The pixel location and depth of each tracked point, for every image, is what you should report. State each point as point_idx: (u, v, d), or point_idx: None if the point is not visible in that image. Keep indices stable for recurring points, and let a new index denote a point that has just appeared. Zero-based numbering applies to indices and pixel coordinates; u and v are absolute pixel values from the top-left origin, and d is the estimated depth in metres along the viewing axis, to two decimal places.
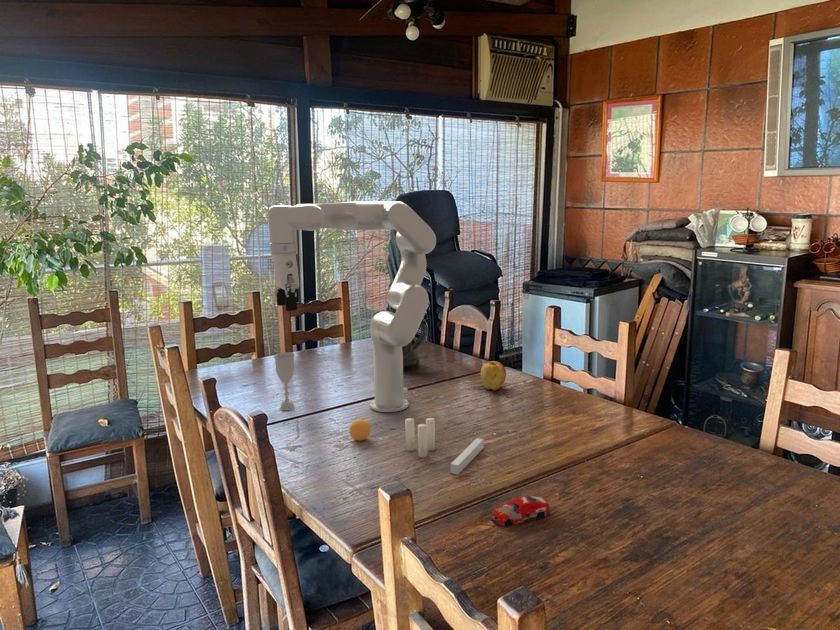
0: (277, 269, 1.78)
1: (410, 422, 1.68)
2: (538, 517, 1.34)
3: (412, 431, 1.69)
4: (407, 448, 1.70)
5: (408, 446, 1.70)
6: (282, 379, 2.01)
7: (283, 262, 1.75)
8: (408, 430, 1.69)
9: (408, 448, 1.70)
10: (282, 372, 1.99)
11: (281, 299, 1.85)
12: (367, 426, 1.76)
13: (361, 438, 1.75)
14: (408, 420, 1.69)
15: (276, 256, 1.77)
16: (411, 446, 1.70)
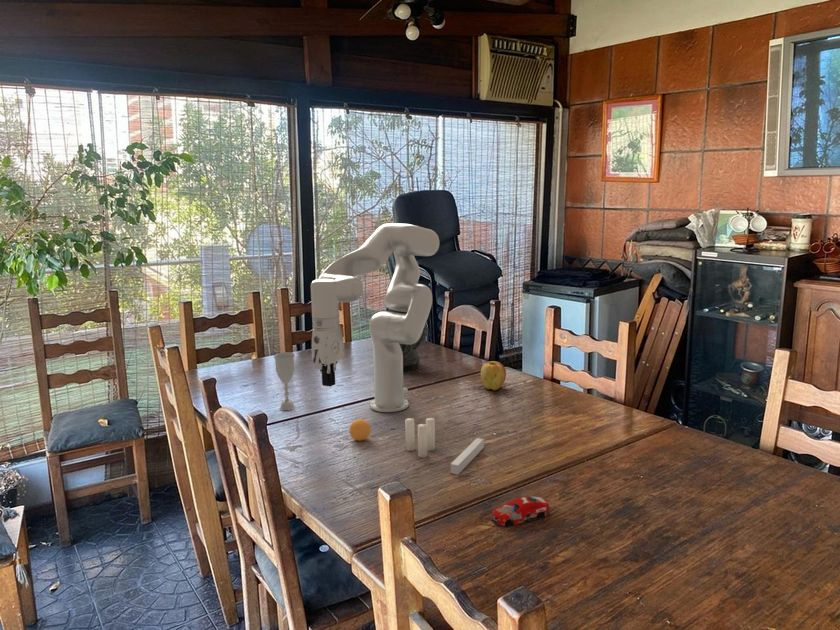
0: None
1: (411, 422, 1.68)
2: (538, 517, 1.34)
3: (412, 431, 1.69)
4: (407, 448, 1.70)
5: (408, 446, 1.70)
6: (282, 379, 2.01)
7: (312, 337, 1.73)
8: (408, 430, 1.69)
9: (408, 448, 1.70)
10: (282, 372, 1.99)
11: None
12: (367, 426, 1.76)
13: (361, 438, 1.75)
14: (408, 420, 1.69)
15: None
16: (411, 446, 1.70)
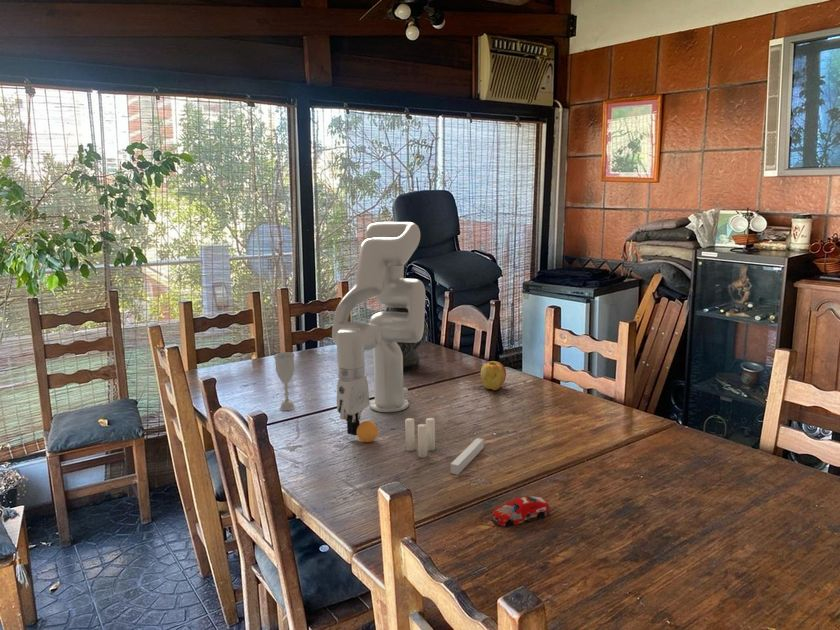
0: None
1: (411, 422, 1.68)
2: (538, 517, 1.34)
3: (412, 431, 1.69)
4: (407, 448, 1.70)
5: (408, 446, 1.70)
6: (282, 379, 2.01)
7: (338, 387, 1.72)
8: (408, 430, 1.69)
9: (408, 448, 1.70)
10: (282, 372, 1.99)
11: None
12: (376, 434, 1.75)
13: (365, 441, 1.75)
14: (408, 420, 1.69)
15: None
16: (411, 446, 1.70)
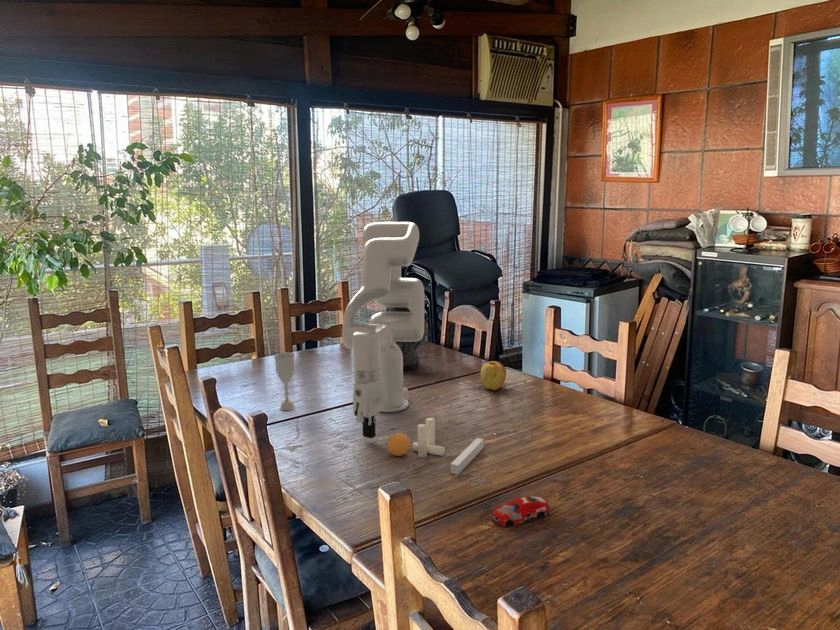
0: None
1: (440, 455, 1.66)
2: (538, 517, 1.34)
3: (432, 453, 1.68)
4: (414, 447, 1.69)
5: (416, 449, 1.69)
6: (282, 379, 2.01)
7: (354, 389, 1.70)
8: (431, 452, 1.67)
9: (414, 448, 1.69)
10: (282, 372, 1.99)
11: None
12: (391, 438, 1.65)
13: (396, 451, 1.64)
14: (442, 452, 1.66)
15: None
16: None
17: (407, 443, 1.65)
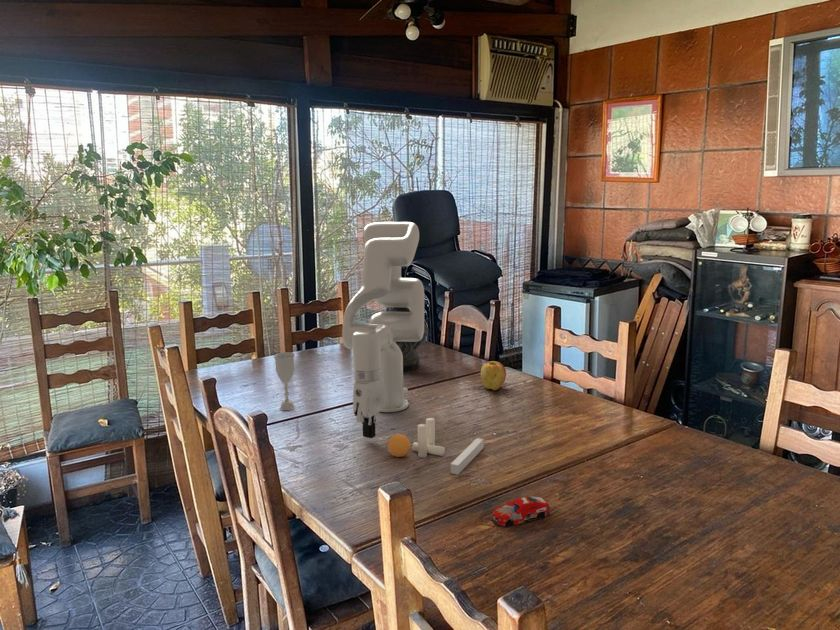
0: None
1: (440, 455, 1.66)
2: (538, 517, 1.34)
3: (432, 453, 1.68)
4: (414, 447, 1.69)
5: (416, 449, 1.69)
6: (282, 379, 2.01)
7: (354, 389, 1.70)
8: (431, 452, 1.67)
9: (414, 448, 1.69)
10: (282, 372, 1.99)
11: None
12: (392, 440, 1.64)
13: (396, 454, 1.64)
14: (442, 452, 1.66)
15: None
16: None
17: (407, 446, 1.64)
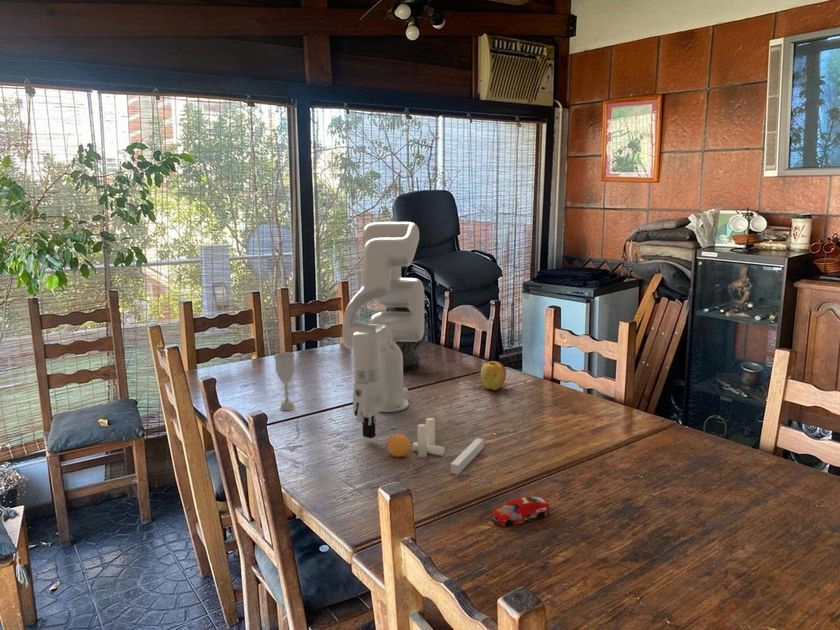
0: None
1: (440, 455, 1.66)
2: (538, 517, 1.34)
3: None
4: (414, 447, 1.69)
5: (416, 449, 1.69)
6: (282, 379, 2.01)
7: (354, 389, 1.70)
8: (431, 452, 1.67)
9: (414, 448, 1.69)
10: (282, 372, 1.99)
11: None
12: (392, 440, 1.64)
13: (396, 454, 1.64)
14: (441, 452, 1.66)
15: None
16: (417, 451, 1.69)
17: (407, 446, 1.64)
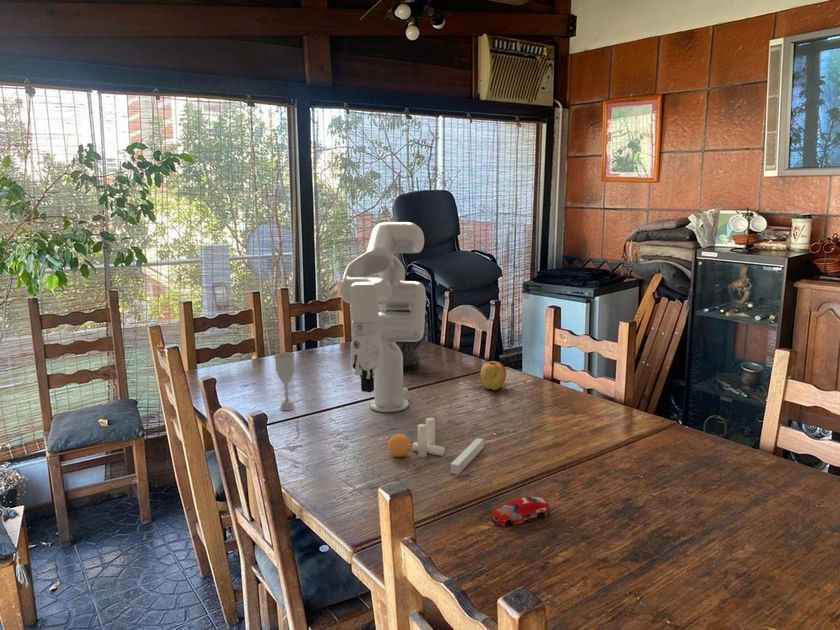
0: None
1: (440, 455, 1.66)
2: (538, 517, 1.34)
3: None
4: (414, 447, 1.69)
5: (416, 449, 1.69)
6: (282, 379, 2.01)
7: (352, 341, 1.67)
8: (431, 452, 1.67)
9: (414, 448, 1.69)
10: (282, 372, 1.99)
11: None
12: (392, 440, 1.64)
13: (396, 454, 1.64)
14: (441, 452, 1.66)
15: None
16: (417, 451, 1.69)
17: (407, 446, 1.64)
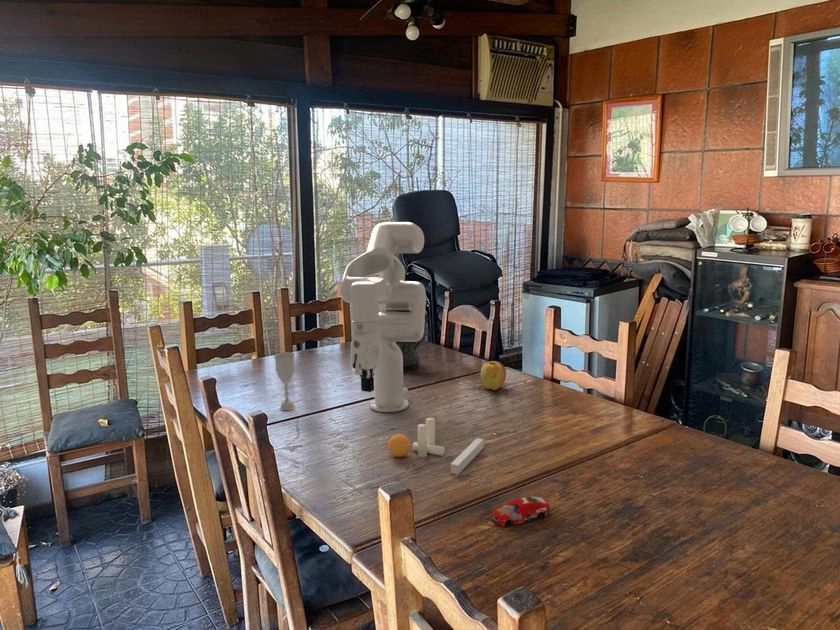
0: None
1: (440, 455, 1.66)
2: (538, 517, 1.34)
3: (432, 453, 1.68)
4: (414, 447, 1.69)
5: (416, 449, 1.69)
6: (282, 379, 2.01)
7: (352, 341, 1.67)
8: (431, 452, 1.67)
9: (414, 448, 1.69)
10: (282, 372, 1.99)
11: None
12: (392, 440, 1.64)
13: (396, 454, 1.64)
14: (441, 452, 1.66)
15: None
16: None
17: (407, 446, 1.64)
